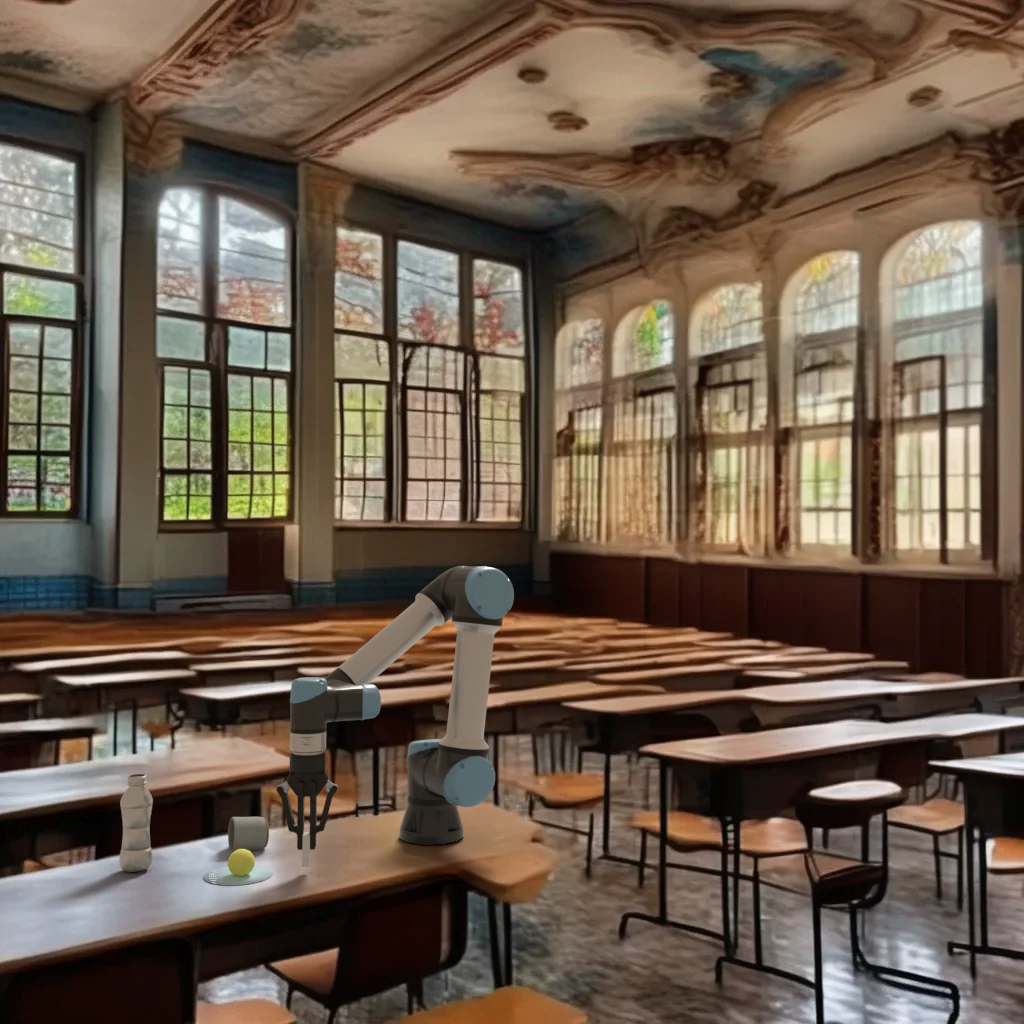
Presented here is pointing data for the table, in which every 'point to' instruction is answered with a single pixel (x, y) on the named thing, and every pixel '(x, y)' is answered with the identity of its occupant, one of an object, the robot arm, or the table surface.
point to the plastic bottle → (136, 825)
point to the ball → (241, 862)
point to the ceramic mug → (248, 833)
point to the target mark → (230, 879)
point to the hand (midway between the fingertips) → (306, 864)
